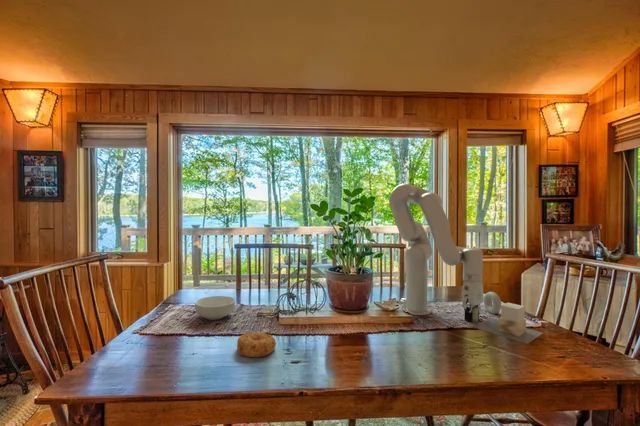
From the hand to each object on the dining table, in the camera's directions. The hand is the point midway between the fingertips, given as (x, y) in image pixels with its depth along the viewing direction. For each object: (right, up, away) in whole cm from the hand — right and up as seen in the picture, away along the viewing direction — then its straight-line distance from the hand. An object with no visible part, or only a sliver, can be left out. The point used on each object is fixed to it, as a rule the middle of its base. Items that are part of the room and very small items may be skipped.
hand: (471, 319), depth 138 cm
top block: (+10, +4, -13) cm, 17 cm away
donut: (+14, -1, +10) cm, 17 cm away
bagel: (-87, -1, -29) cm, 91 cm away
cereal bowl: (-111, 0, +3) cm, 111 cm away
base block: (+10, -1, -12) cm, 16 cm away
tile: (+9, -1, -11) cm, 14 cm away
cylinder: (0, -1, 0) cm, 1 cm away
